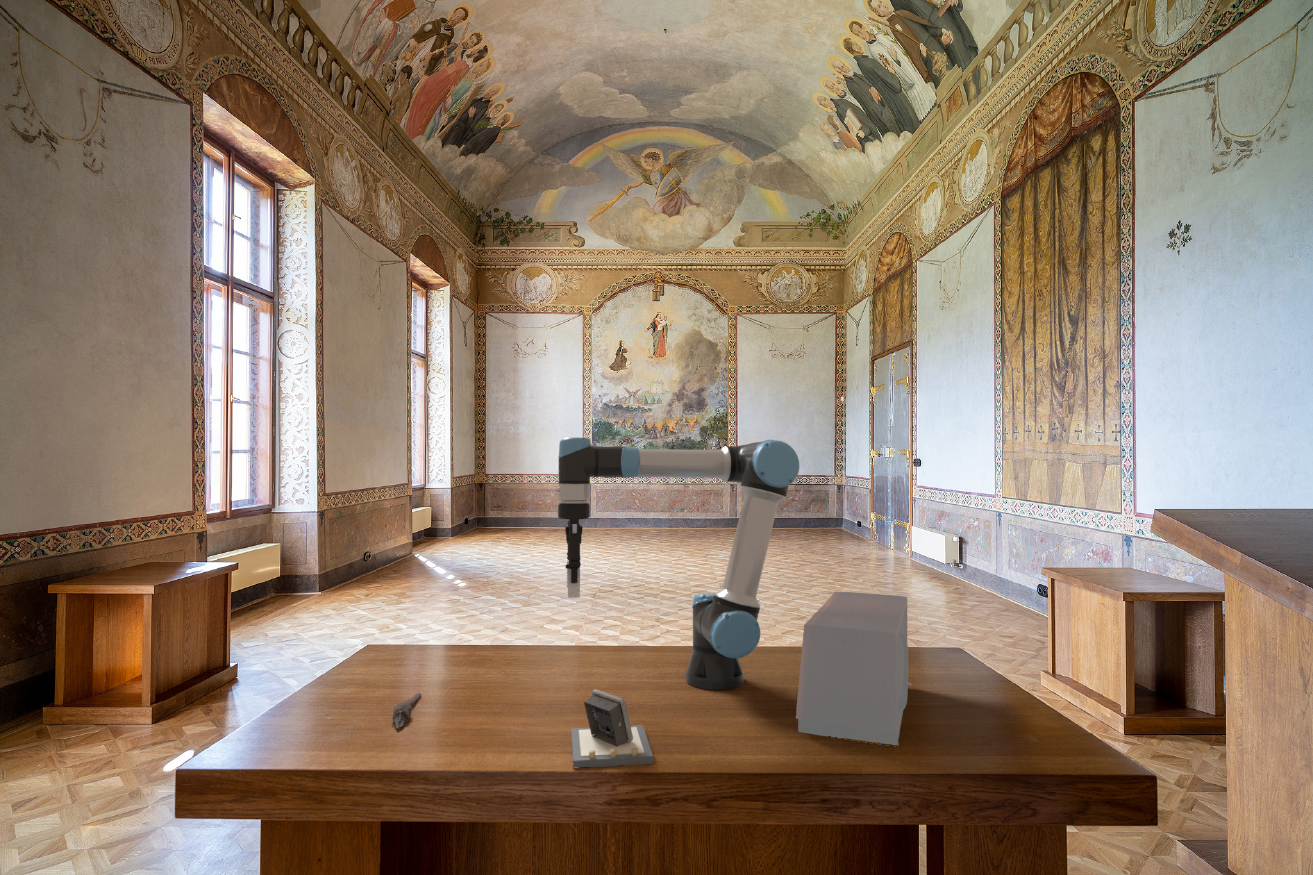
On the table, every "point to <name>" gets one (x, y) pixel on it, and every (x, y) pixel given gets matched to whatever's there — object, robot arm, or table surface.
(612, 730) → the electrical switch
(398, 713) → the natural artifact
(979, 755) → the table surface
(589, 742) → the plate
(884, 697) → the grey rounded box
